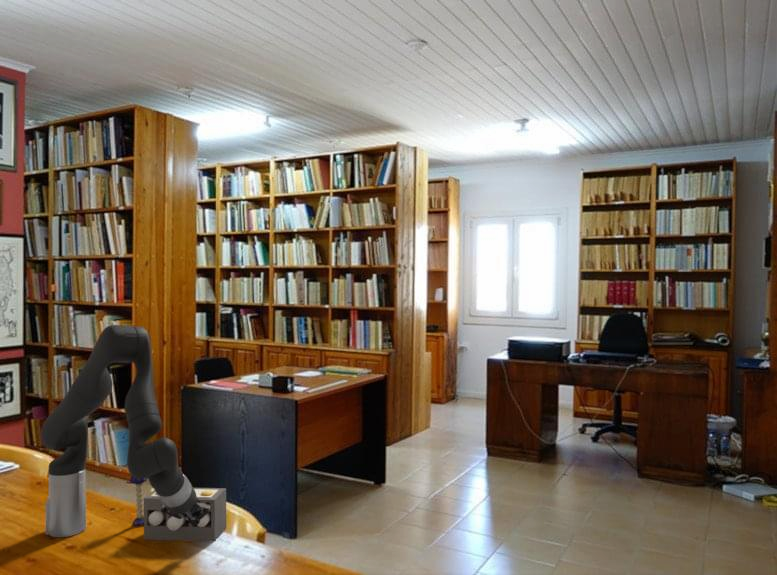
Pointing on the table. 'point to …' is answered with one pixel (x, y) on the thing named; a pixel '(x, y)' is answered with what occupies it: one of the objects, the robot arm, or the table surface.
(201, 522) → the button right
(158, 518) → the button left
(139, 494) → the toy lamp
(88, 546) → the table surface
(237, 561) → the table surface
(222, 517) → the button box
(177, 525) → the button middle
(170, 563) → the table surface
